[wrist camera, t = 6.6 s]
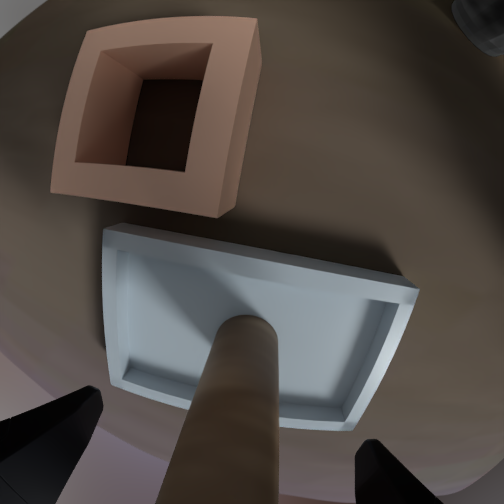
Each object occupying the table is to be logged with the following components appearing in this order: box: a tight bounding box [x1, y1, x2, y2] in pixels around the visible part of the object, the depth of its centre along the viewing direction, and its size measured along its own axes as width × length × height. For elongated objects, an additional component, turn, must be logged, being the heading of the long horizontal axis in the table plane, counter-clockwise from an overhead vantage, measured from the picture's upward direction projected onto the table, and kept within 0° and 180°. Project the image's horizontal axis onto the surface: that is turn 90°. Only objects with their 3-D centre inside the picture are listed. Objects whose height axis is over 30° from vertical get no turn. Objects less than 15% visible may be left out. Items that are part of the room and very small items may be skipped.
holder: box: [50, 16, 262, 218], centre depth 9 cm, size 7×7×4 cm
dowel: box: [155, 315, 279, 504], centre depth 8 cm, size 3×3×10 cm
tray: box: [102, 223, 420, 431], centre depth 13 cm, size 14×9×2 cm, turn 80°
